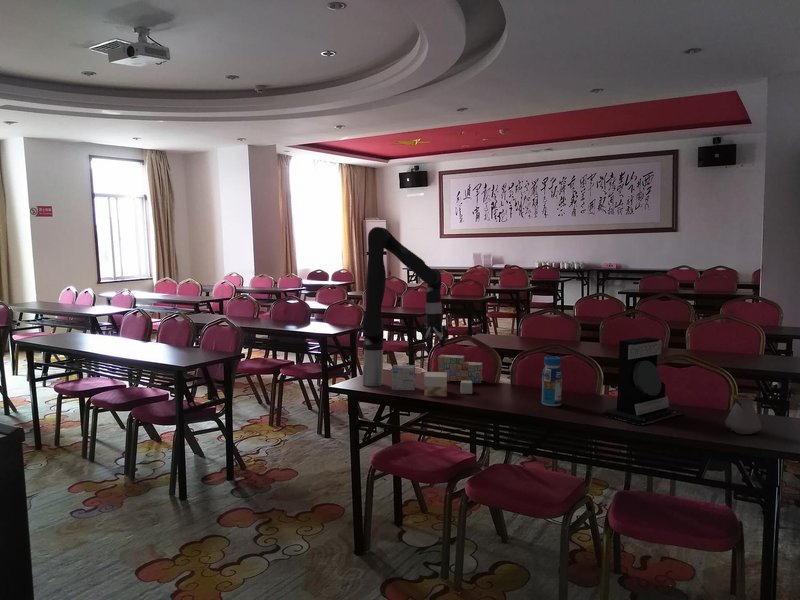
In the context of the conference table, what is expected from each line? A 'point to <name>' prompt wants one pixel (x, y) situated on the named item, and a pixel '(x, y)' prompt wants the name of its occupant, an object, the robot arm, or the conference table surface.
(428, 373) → the cream block
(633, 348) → the award
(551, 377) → the beverage bottle
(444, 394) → the oak block
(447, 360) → the stack of blocks
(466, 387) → the sage cube
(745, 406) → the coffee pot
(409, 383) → the light bulb box
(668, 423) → the conference table surface
